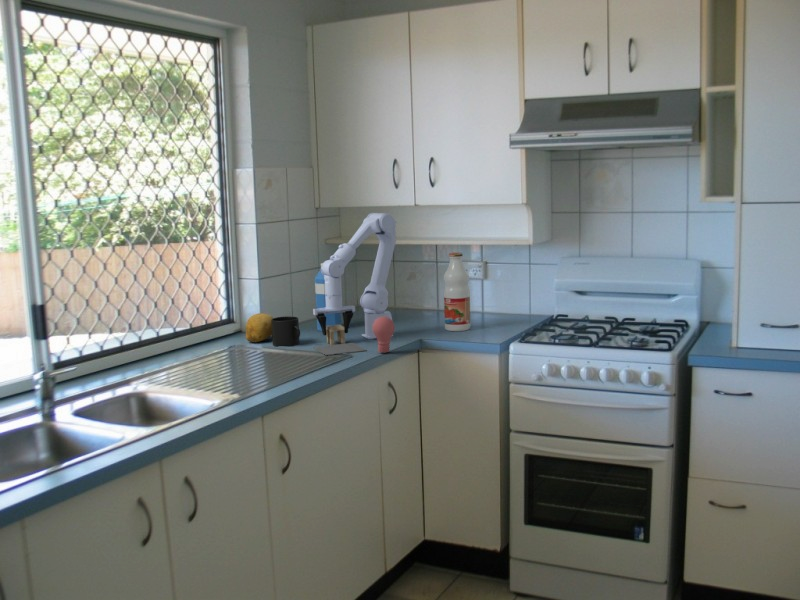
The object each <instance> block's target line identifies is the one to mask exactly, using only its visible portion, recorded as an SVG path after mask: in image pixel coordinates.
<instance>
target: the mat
mask: <svg viewBox="0 0 800 600" xmlns="http://www.w3.org/2000/svg"><path fill="white" fill-rule="evenodd" d="M313 349H314V350H316V351H318V352H319V353H320V354H322V353H323V354H322V355H324V354H325V355H330V356H333V355H332V354H338V355H344V354H343V353H347V354H354V353H362V352H363V353H364V352H367V351H368V350H367V349H366V348H364V347H362V346H360V345H359V344H356V343H354V342H349V343H346V342H345V344H341V343H339V344H335V345H330V344H329V345H319V346H313ZM325 355H324V356H325Z"/></svg>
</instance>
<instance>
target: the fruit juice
mask: <svg viewBox="0 0 800 600" xmlns="http://www.w3.org/2000/svg"><path fill="white" fill-rule="evenodd" d="M448 258H449V262H448V263H449V264H448V266H447V269H446V271H445V272H444V275H443V281H444V284H445V285H444V290H443V307H444V309H443V310H444V328H445V330H446V331H450V332H463V331H468V330H470V329H471V302H470V301H471V299H470V297H471V295H470V287H469V286H468V285H469V284H468V283H469V280H470V277H469V273H468V271H467V270H466V268H465V266H464V263H463V253H462V252H449V253H448Z"/></svg>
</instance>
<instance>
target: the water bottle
mask: <svg viewBox="0 0 800 600" xmlns="http://www.w3.org/2000/svg"><path fill="white" fill-rule="evenodd" d="M323 263H324V262H322V263H320V270H318V273H317V274H316V275H315V277H314V290H315V292H314V293H315V306H316V307H315V309H318V308H324V307H326V300H325V280H324V275H323V274H322V273H321V268H322V265H323ZM330 312H334V311H330ZM341 313H342V312H341ZM341 313H331V314H324V315H325V316H326V326H330V325H342V316H341ZM316 328H317V331H319V332H322V329H321V326H320V323H319V321H318V319H317V318H316Z"/></svg>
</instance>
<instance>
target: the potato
mask: <svg viewBox="0 0 800 600" xmlns="http://www.w3.org/2000/svg"><path fill="white" fill-rule="evenodd" d="M273 318H274V317H273V316H272V315H271V314H267V313H264V312H260V313H259V312H258V313H255V314H252V315H250V317H249V318H248V319H247V321H246V324H245V339H246V340H247V341H248V342H250V343H259V342H263V341H264V340H267V339H269V338H270V337H272V327H271V319H273Z"/></svg>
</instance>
